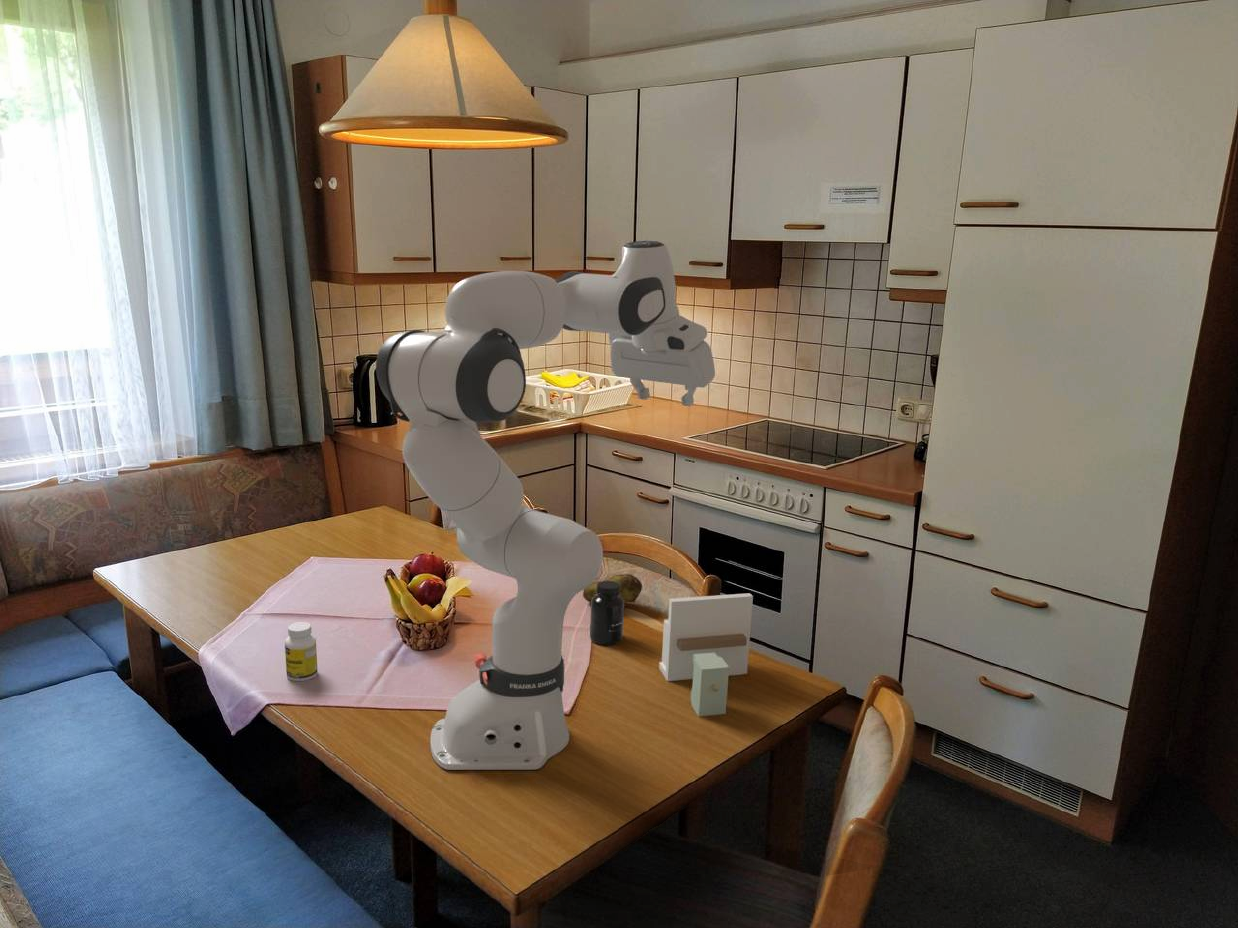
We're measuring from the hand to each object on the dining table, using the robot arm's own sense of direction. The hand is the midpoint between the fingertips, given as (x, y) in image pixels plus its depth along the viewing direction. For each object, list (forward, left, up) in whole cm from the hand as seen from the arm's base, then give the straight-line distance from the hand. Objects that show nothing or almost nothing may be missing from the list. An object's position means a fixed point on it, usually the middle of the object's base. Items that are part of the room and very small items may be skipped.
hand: (665, 401), depth 164 cm
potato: (-2, +27, -52) cm, 58 cm away
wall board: (+8, -9, -52) cm, 53 cm away
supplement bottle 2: (-7, +10, -52) cm, 53 cm away
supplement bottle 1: (-66, +5, -52) cm, 84 cm away
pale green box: (+4, -21, -52) cm, 56 cm away
